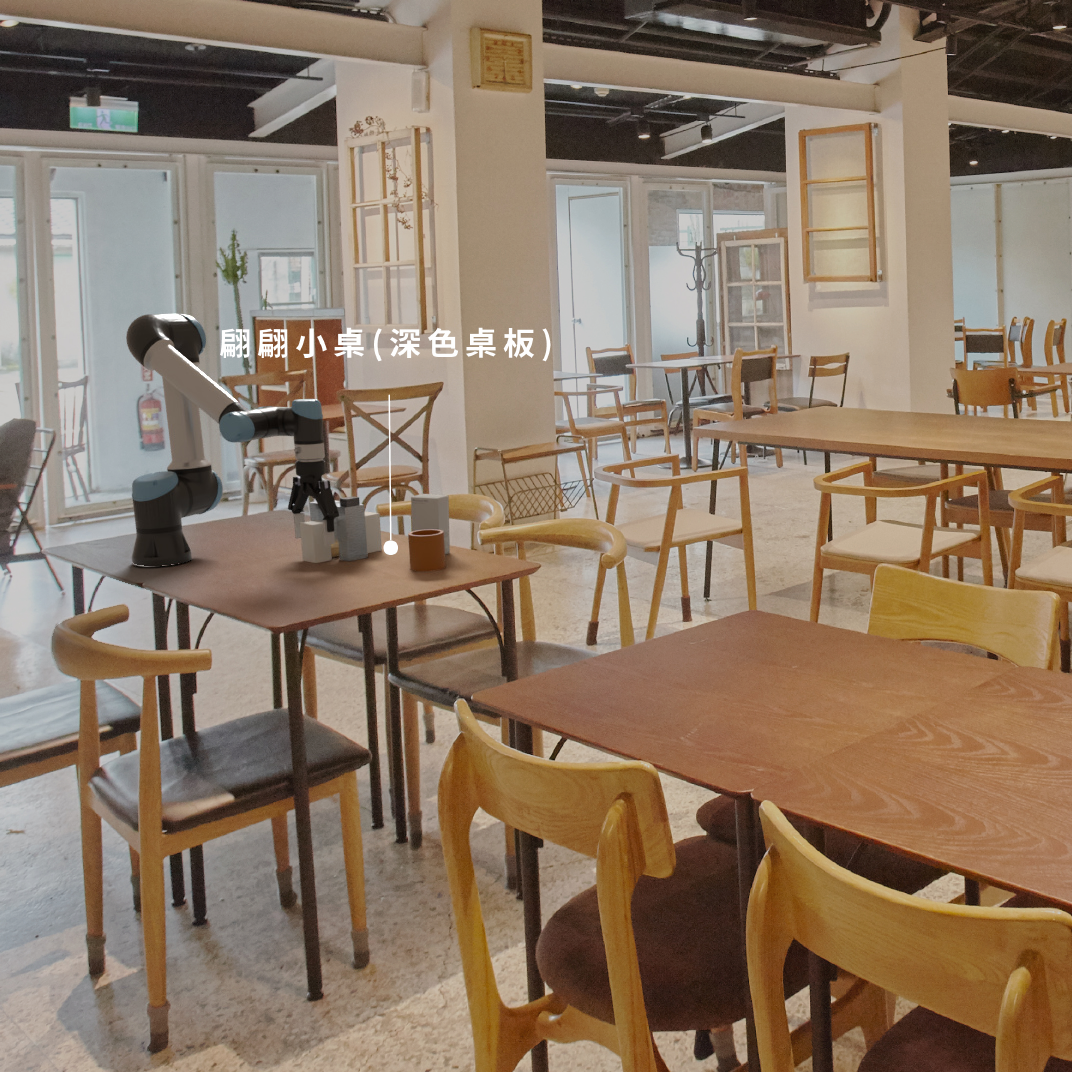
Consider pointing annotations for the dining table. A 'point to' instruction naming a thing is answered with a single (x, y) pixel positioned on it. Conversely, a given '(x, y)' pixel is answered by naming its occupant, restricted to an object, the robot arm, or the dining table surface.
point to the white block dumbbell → (320, 553)
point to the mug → (427, 550)
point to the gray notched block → (347, 528)
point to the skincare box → (431, 514)
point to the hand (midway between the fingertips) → (314, 541)
